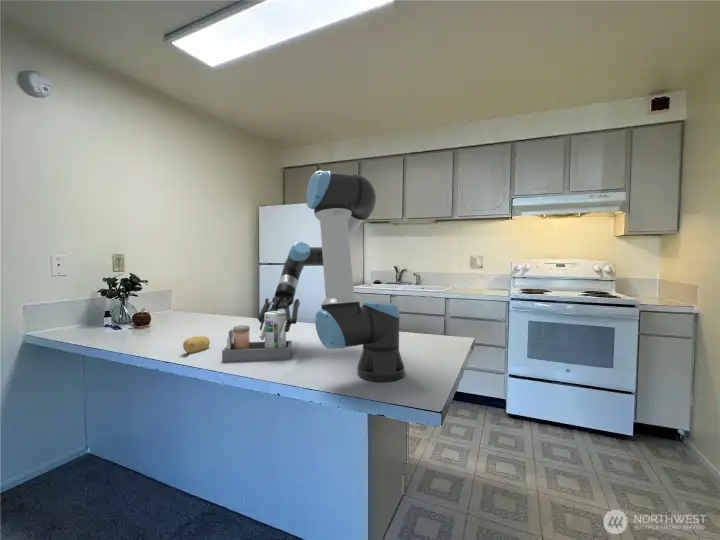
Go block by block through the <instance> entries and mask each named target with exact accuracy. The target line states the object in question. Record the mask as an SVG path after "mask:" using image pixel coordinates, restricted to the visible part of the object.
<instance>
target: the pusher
mask: <svg viewBox="0 0 720 540" xmlns="http://www.w3.org/2000/svg"><path fill="white" fill-rule="evenodd" d="M226 346H227V350H234V331H233V329H230V330H229V331H228V337H227V338H226Z"/></svg>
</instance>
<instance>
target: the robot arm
mask: <svg viewBox="0 0 720 540" xmlns="http://www.w3.org/2000/svg"><path fill="white" fill-rule="evenodd" d="M305 199H306V200H305V201H306V205H307V207H308V208H309V209H310V210H314V211H313V213H314V218H316V219H317V220H318V221H319V227H320V239H321V247H318V246H317V247H313V246H311V247H310V245H309V244H308V243H306V242H303V241H297V242H294V243H293V244H292V245H291V247H290V249H289V251H288V255H287V258H286V260H285V261H284V264H283V268H282V272H281V273H280V278H279V280H278V283H277V286H276V290H275V293H274V295H273V298H271V299H269V298H265V299H264V305H263V306H262V309H261V311H260V313H259V314H258V317H257V319H258V322H259V324H260V327H259V330H260V333H259V336H258V337H259V338H260V340H261V341H265V319H264V314H265V313H266V312H270V311H278V310H282V309H283V310H284V312H286V322H284V325H283V328H282V332H281V335H280V338H281V340H282V341H284V339H285V335H286V336H287V333H289V331H290V329H291V325H293V324H294V325H296V324H297V320H298V311H299V307H300V305H301V302H300V299H299V298H296V299H294V298H295V295H296V292H297V288H298V283H299V280H300V277H301V274H302V271H303V269H304V267H306V266H323V278H324V280H323V281H324V292H325V293H324V294H325V298H324V300H323V301H322V302H321V304H320V305H321V309H319V310H318V311H317V312H316V314H315V319H314V325H315V330H316V334H317V337H318V339H319V340H320V341H319V342H321V344H322V345H323V346H324V347H325V348H326V349H329V350H335V349H340V350H343V349H344V348H349V347H358V346H362V350H361V354H360V358H359V360H358V364H357V375H358V377H360V378H361V377H362V379H363V378H364V380H366V379H367V381H370V380H371V382H377V381H378V382H382V383H384V382H394V381H398V380H400V379H402V378H403V377H404V376H405V365H404V361H403V358H402V355H401V352H400V319H401V317H400V309H399V306H398V305H396V304H394V303H390V302H385V301H373V300H364V301H363V302H362V305H361V304H360V303H361V302H360V300H359V299H358V298H357V297H356V296H355V292H354V290H355V289H354V281H353V280H354V279H353V268H352V256H351V244H350V239H351V238H352V237H353V235H354V234H355V232H356V231H357V229H358V228H359V227H360V225H361V224H362V222H363V221H366V220H368V219H369V218H370V216H371V214H373V212H374V210H375V206H376V202H377V193H376V190H375V188H374V186H373V183H371V181H370V180H369V178H367V177H364V176H363V175H361V174H360V175H359V174H351V173H344V172H336V171H331V170H316V171H315V172H314V173H313V174H312V175H311V177H310V178H309V182H308V184H307V188H306V194H305ZM292 304H293V306H292ZM291 306H292V315H291V313H290V307H291ZM278 312H279V311H278Z"/></svg>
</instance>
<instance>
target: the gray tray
mask: <svg viewBox="0 0 720 540" xmlns="http://www.w3.org/2000/svg"><path fill="white" fill-rule="evenodd" d="M292 343H293V341H292V340H286V348H268V349H265V341H250V349H241V350H227V345H226V346H225V347H224V348H223V349H222V350H221V355H222V356H221V357H222V358H221V359H222V361H221V362H222V363H236V362H237V363H238V362H259V361H260V362H261V361H263V362H265V361H283V360H284V361H287V360H289V361H290V360H291V355H292V351H293V346H292Z"/></svg>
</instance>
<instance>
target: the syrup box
mask: <svg viewBox="0 0 720 540" xmlns="http://www.w3.org/2000/svg"><path fill="white" fill-rule="evenodd" d="M264 319H265V337H264V342H265V349H268V348H286V341H287V334H286V335H285V339H284V341H282V340H281V338H280V335H281V332H282V328H283V325H284V322H287V320H286V312H285V311H270V312H266V313H265V314H264Z"/></svg>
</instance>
